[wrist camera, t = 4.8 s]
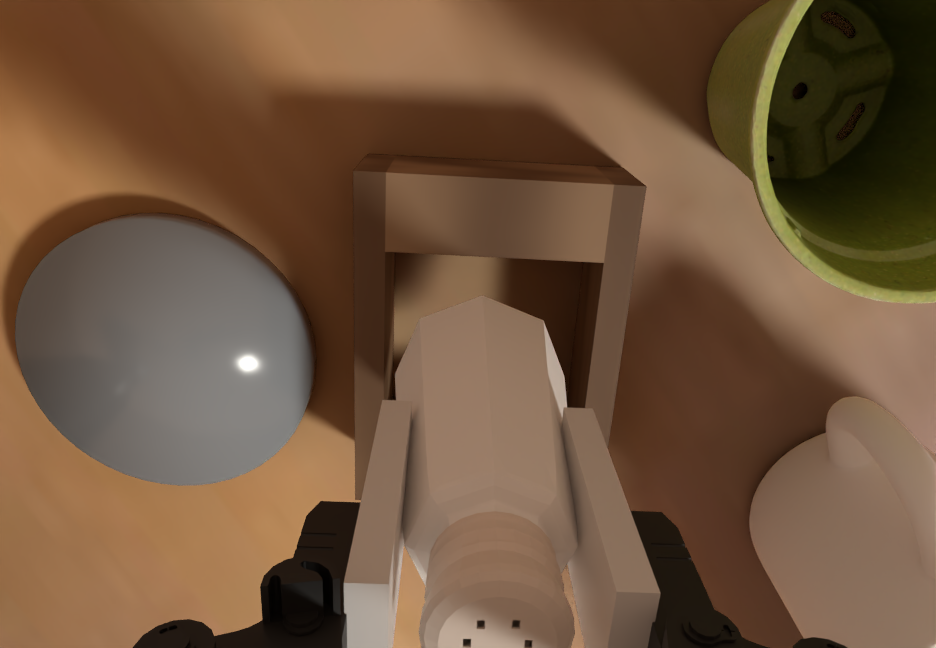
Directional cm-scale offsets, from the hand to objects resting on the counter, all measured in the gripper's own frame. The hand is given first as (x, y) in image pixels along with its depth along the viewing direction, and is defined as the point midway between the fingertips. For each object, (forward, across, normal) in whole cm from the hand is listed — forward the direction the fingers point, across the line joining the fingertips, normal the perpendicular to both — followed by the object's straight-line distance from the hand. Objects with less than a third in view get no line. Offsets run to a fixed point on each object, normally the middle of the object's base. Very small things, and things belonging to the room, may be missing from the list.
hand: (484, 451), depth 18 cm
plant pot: (+10, +10, +9) cm, 17 cm away
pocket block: (+9, 0, 0) cm, 9 cm away
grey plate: (+10, -12, -2) cm, 15 cm away
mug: (+9, +15, -6) cm, 19 cm away
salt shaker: (+5, 0, 0) cm, 5 cm away
